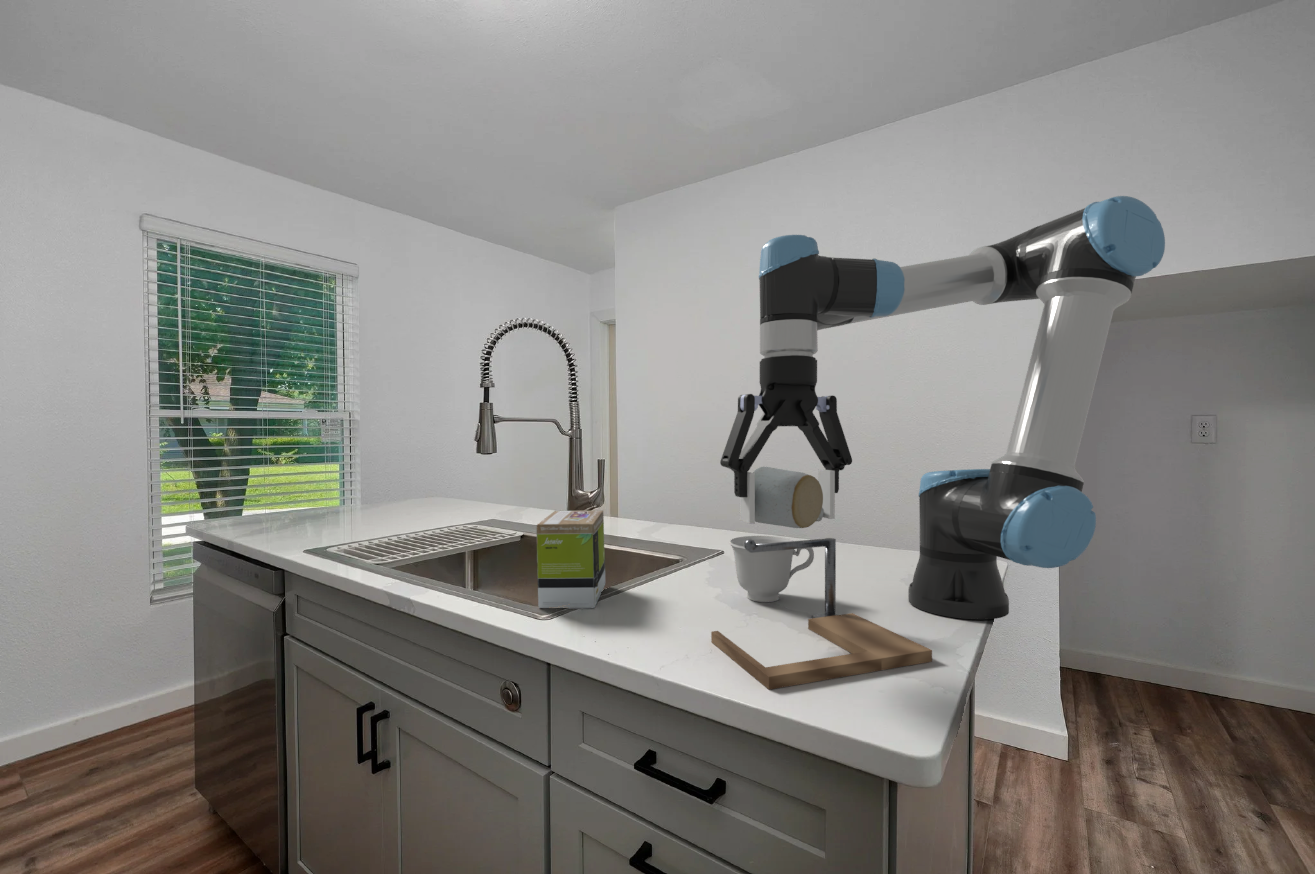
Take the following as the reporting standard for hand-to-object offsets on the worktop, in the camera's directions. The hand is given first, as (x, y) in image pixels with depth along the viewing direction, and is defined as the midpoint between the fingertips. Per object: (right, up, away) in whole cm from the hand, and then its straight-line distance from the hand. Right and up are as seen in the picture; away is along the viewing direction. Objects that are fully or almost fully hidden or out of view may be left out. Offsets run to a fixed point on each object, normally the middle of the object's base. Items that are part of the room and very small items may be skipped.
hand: (787, 519), depth 78 cm
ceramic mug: (0, -1, 0) cm, 1 cm away
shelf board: (+4, -18, +1) cm, 19 cm away
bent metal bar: (+3, -18, +11) cm, 21 cm away
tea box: (-33, -18, +27) cm, 46 cm away
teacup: (+3, -18, +26) cm, 32 cm away
